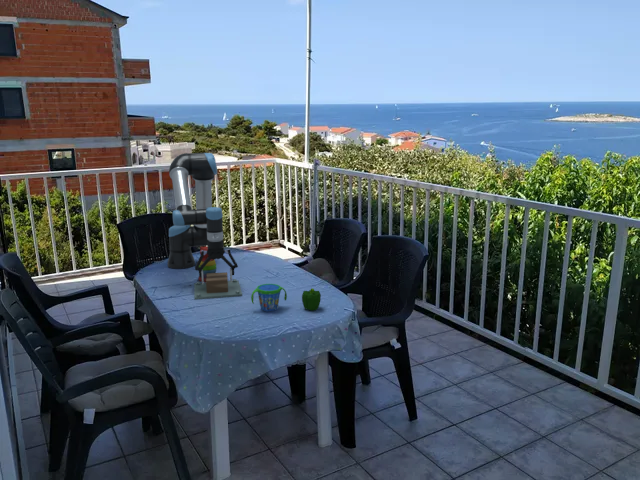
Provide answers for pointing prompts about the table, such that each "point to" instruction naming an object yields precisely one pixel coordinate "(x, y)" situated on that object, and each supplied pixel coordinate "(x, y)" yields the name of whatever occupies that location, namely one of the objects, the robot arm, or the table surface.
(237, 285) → the base plate
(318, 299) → the bell pepper
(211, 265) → the stacking bear
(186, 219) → the robot arm
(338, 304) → the table surface
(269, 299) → the snack cup
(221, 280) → the walnut brick
